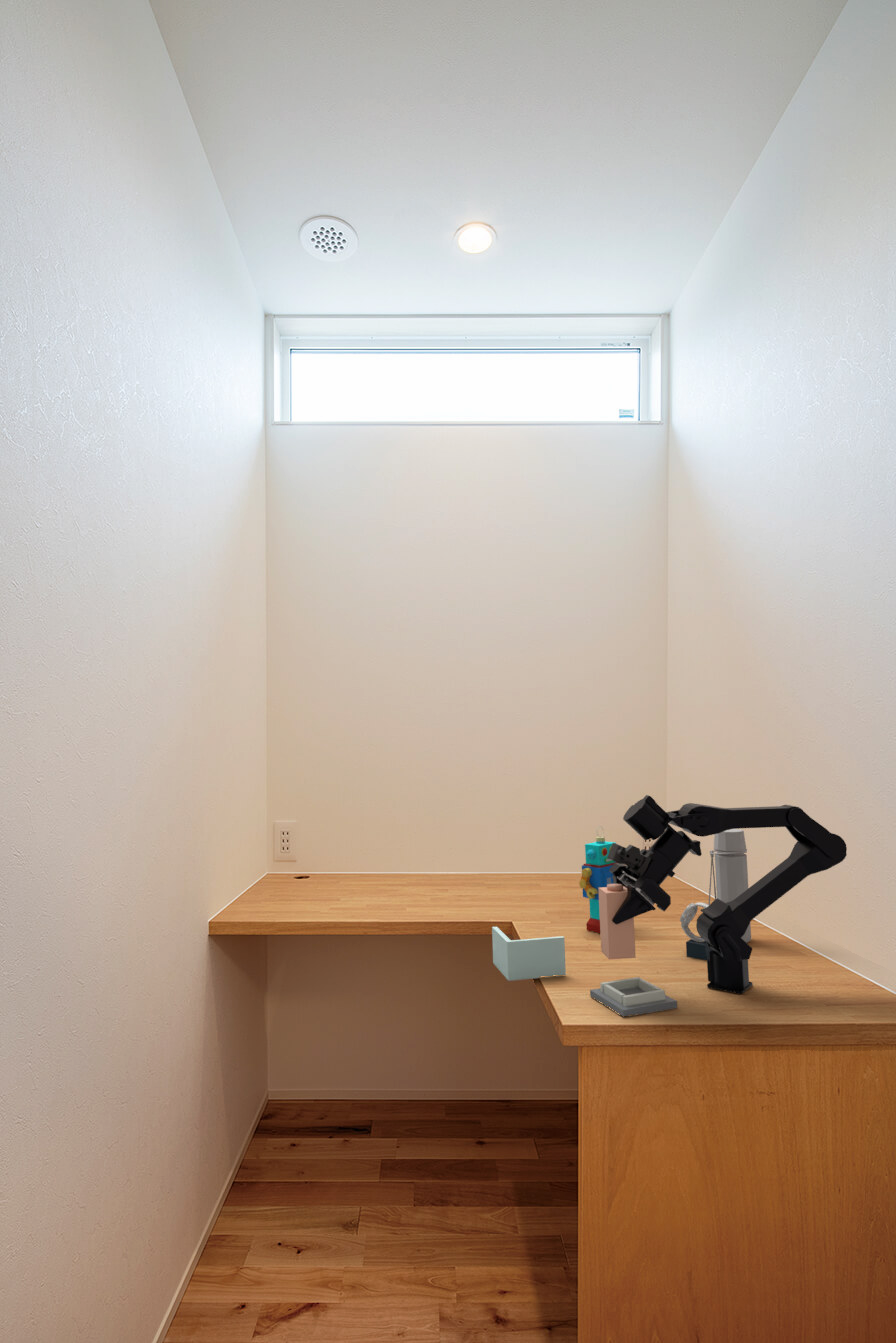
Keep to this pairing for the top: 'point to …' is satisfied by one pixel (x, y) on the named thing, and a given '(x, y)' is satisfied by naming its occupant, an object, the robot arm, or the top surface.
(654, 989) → the socket plate
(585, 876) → the toy robot
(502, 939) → the l-shaped corner panel
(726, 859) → the water bottle
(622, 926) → the pillar
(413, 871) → the top surface
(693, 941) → the watch
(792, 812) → the robot arm
